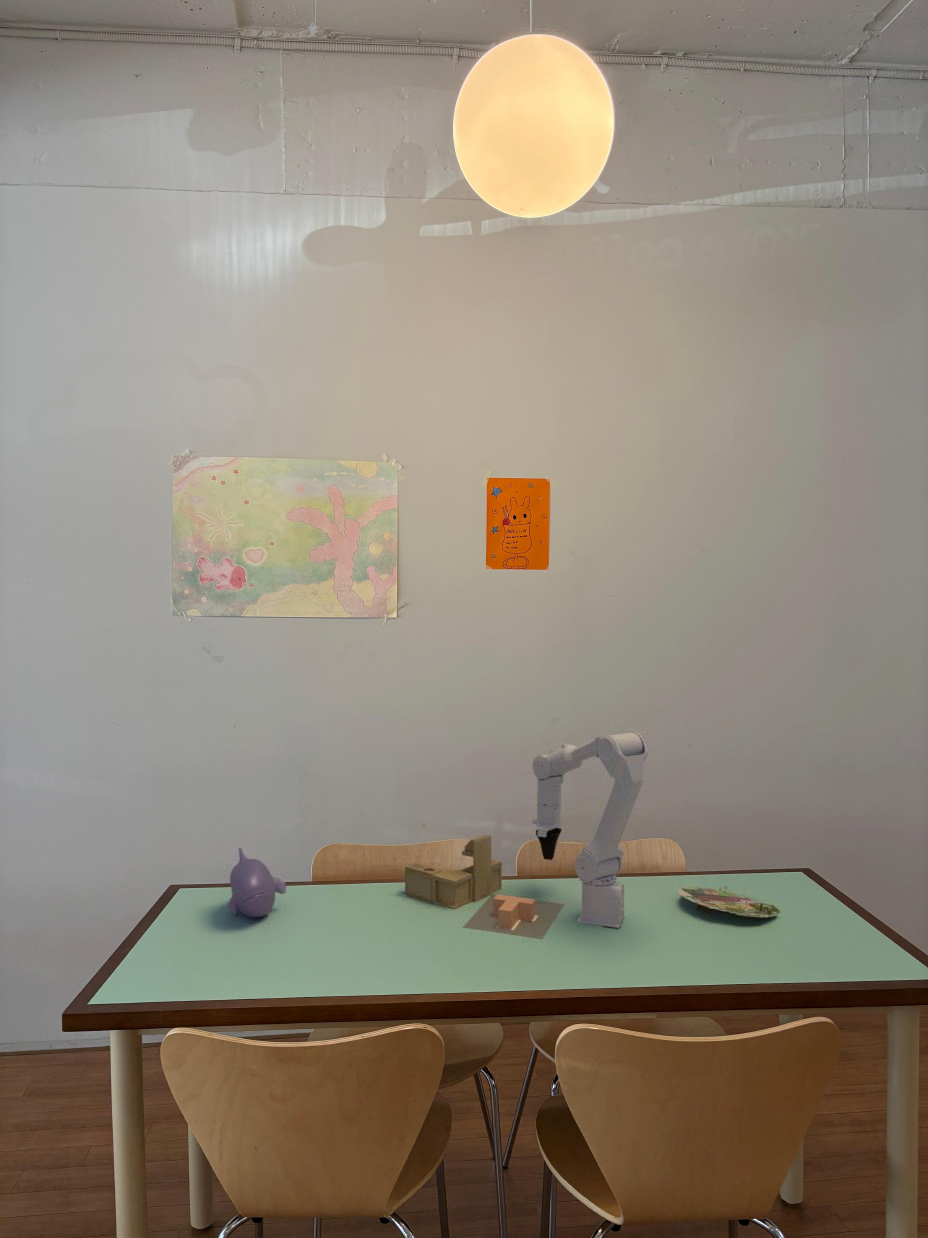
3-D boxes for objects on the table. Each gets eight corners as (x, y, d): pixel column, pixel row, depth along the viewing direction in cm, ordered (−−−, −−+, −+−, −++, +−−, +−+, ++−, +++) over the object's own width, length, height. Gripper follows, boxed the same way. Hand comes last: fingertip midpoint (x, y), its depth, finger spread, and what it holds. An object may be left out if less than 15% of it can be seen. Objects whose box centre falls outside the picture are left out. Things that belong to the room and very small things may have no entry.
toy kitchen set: (453, 877, 218) (453, 820, 218) (504, 892, 207) (504, 831, 207) (404, 896, 204) (404, 834, 204) (456, 912, 193) (456, 847, 193)
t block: (534, 917, 189) (535, 899, 189) (524, 931, 181) (524, 913, 181) (497, 911, 192) (497, 894, 192) (485, 925, 184) (485, 907, 184)
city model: (804, 925, 193) (806, 898, 193) (741, 934, 180) (743, 906, 180) (716, 895, 214) (718, 871, 214) (654, 901, 200) (656, 876, 201)
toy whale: (231, 938, 178) (206, 868, 179) (238, 914, 202) (215, 853, 203) (292, 910, 181) (266, 842, 182) (291, 890, 206) (268, 830, 207)
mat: (564, 905, 198) (564, 904, 198) (542, 940, 177) (542, 939, 177) (492, 895, 204) (492, 894, 204) (462, 928, 183) (462, 927, 183)
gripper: (540, 795, 211) (539, 849, 211) (525, 808, 197) (524, 865, 197) (567, 798, 209) (566, 852, 209) (554, 811, 195) (553, 869, 195)
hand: (548, 859), depth 203 cm, fingers closed
